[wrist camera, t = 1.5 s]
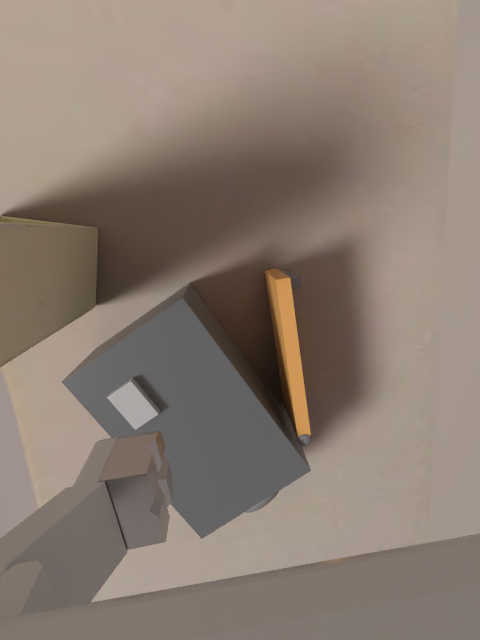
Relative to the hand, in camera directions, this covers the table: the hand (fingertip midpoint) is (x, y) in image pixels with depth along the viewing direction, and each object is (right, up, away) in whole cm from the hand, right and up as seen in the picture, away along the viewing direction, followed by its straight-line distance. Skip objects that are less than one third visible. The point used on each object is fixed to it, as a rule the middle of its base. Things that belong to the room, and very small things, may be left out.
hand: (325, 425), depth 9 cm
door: (+2, +1, +23) cm, 23 cm away
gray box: (-6, -3, +24) cm, 25 cm away
